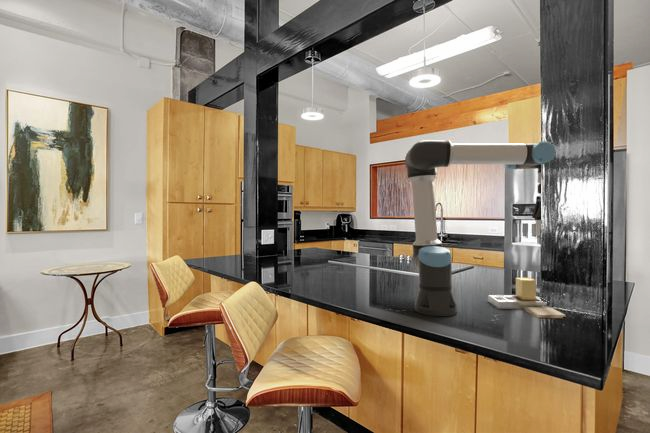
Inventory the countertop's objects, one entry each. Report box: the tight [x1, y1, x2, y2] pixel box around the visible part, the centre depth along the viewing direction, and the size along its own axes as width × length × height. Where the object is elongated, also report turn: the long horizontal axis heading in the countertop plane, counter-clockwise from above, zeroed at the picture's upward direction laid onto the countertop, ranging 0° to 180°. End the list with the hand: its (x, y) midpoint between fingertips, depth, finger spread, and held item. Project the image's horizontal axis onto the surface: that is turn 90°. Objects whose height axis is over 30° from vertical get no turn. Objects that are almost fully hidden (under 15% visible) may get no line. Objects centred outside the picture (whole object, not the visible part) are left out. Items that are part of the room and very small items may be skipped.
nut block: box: [515, 277, 537, 301], centre depth 129 cm, size 5×5×10 cm
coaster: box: [523, 306, 567, 319], centre depth 119 cm, size 9×9×2 cm
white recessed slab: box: [487, 294, 547, 310], centre depth 130 cm, size 18×10×3 cm, turn 84°
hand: (548, 237), depth 134 cm, fingers open, 13 cm apart
